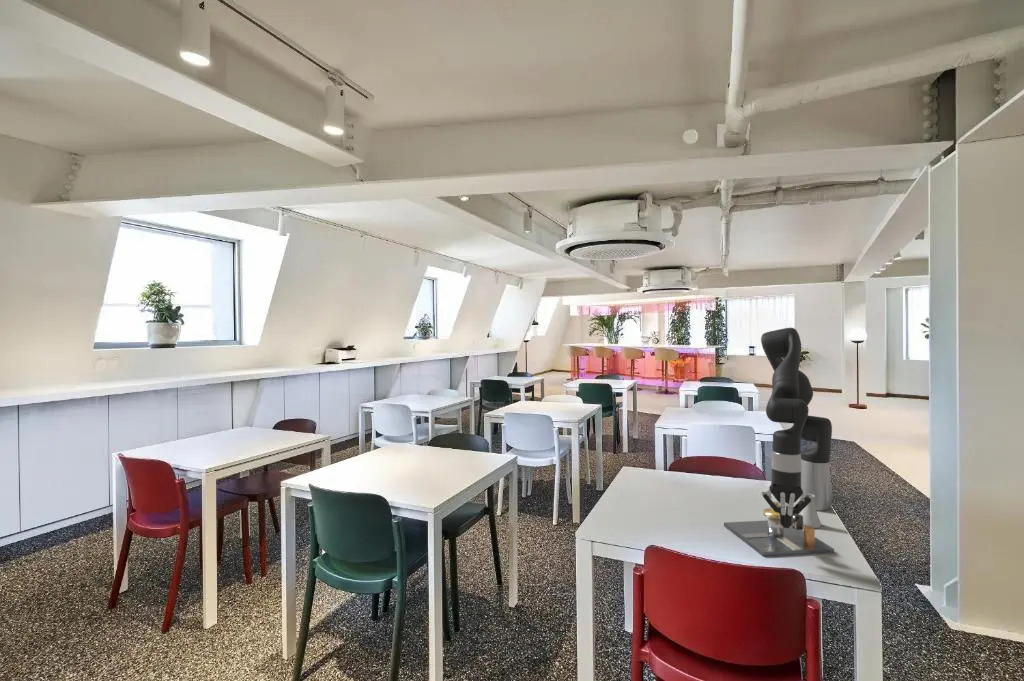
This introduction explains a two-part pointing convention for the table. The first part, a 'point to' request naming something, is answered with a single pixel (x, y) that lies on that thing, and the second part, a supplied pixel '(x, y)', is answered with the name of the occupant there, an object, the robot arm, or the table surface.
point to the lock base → (778, 538)
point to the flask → (811, 514)
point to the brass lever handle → (770, 513)
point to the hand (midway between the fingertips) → (785, 526)
